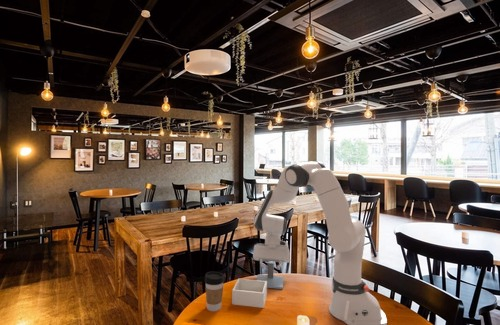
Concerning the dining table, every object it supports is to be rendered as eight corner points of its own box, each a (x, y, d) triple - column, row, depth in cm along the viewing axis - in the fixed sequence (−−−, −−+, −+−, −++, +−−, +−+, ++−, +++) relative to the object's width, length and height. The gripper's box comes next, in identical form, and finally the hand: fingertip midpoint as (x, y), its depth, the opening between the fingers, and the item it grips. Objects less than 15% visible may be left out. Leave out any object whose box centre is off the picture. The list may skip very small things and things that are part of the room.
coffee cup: (207, 303, 120) (207, 269, 120) (225, 304, 119) (226, 271, 119) (201, 313, 112) (202, 278, 112) (221, 315, 111) (221, 279, 110)
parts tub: (266, 295, 127) (267, 281, 127) (263, 309, 116) (263, 293, 116) (238, 292, 130) (238, 278, 130) (232, 305, 118) (232, 290, 118)
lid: (283, 280, 144) (284, 263, 144) (282, 291, 132) (282, 273, 132) (258, 278, 146) (258, 261, 146) (254, 288, 135) (254, 270, 135)
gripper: (253, 240, 152) (250, 264, 142) (290, 243, 148) (289, 267, 138) (255, 246, 156) (251, 269, 146) (290, 248, 152) (289, 272, 143)
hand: (270, 268), depth 142 cm, fingers open, 7 cm apart
